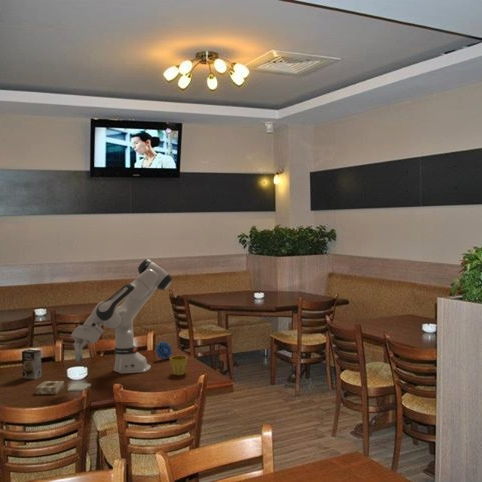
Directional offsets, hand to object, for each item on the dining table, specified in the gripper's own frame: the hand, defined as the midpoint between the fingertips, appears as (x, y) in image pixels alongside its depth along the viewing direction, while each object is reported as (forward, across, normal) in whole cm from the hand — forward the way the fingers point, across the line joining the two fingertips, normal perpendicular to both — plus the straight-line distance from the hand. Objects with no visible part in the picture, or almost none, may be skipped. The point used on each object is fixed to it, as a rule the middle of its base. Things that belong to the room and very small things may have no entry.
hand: (77, 346), depth 321 cm
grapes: (-32, -7, +66) cm, 74 cm away
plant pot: (-20, +24, +54) cm, 63 cm away
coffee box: (+20, -42, +14) cm, 48 cm away
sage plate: (+16, 0, +17) cm, 23 cm away
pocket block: (+25, -10, +8) cm, 28 cm away
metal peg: (+5, 0, +6) cm, 8 cm away
